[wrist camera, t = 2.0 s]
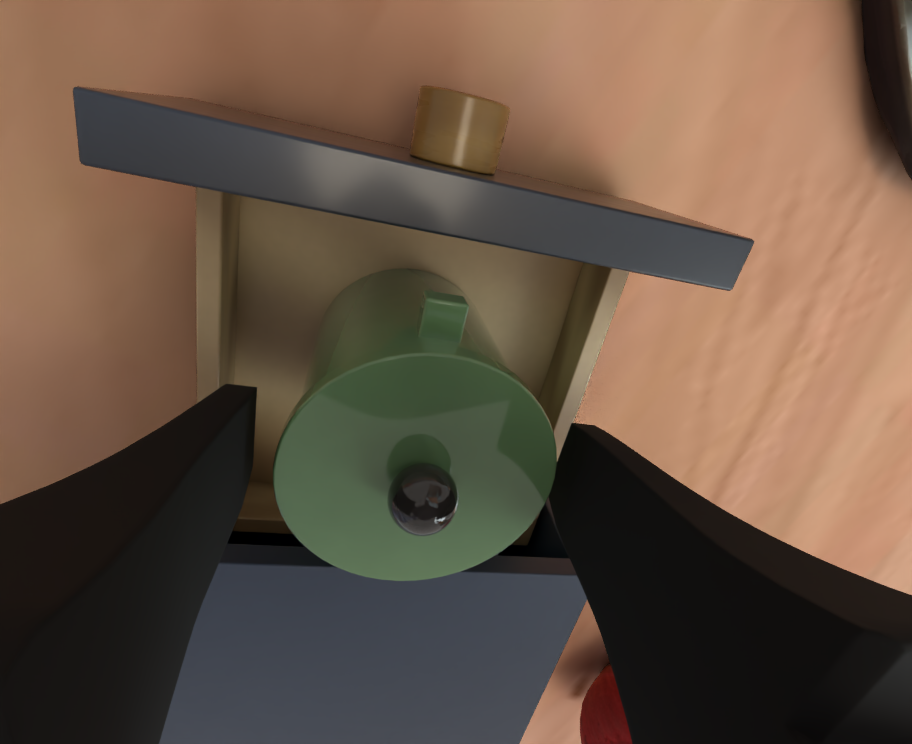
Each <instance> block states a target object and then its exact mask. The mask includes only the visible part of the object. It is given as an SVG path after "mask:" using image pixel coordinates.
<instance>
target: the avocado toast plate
mask: <svg viewBox="0 0 912 744" xmlns="http://www.w3.org/2000/svg"><path fill="white" fill-rule="evenodd" d="M862 18H863V30H864V51H865V59H866V64H867V68H868V72H869V77H870V82H871V87H872V91H873V94H874V98H875V101H876V104H877V107H878V110H879V113H880V115H881V118H882V120H883V122H884V124H885V126H886V128H887V129H888V131H889V133H890V135H891V137H892V140H893V142H894V144H895V147H896V149H897V151H898V154H899V156H900V159H901V161H902V163H903V165H904V168H905V170H906V172H907V173H908V175H909V177H910V178H911V180H912V0H862Z"/></svg>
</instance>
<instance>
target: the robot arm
mask: <svg viewBox="0 0 912 744" xmlns="http://www.w3.org/2000/svg"><path fill="white" fill-rule="evenodd" d="M256 400H257V387H252V386H243V385H234V384H225V385H223V386H222V387H220V388H219V389H217V390H216V391H214V392H213V393H211V394H210V395H208V396H207V397H205V398H204V399H203V400H201V401H200V402H198V403H197V404H195V405H194V406H192V407H191V408H189V409H188V410H187V411H185V412H184V413H182V414H181V415H179V416H178V417H176V418H174V419H173V420H171V421H170V422H168V423H167V424H165V425H164V426H162V427H161V428H159V429H157V430H156V431H154V432H152V433H150V434H149V435H147V436H145V437H144V438H142V439H140V440H138V441H137V442H135V443H133V444H131V445H130V446H128V447H126V448H125V449H123V450H121V451H119V452H118V453H116V454H114V455H112V456H110V457H108V458H106V459H104V460H102V461H100V462H98V463H96V464H94V465H92V466H90V467H88V468H86V469H84V470H81V471H79V472H77V473H75V474H73V475H71V476H69V477H67V478H64V479H62V480H60V481H58V482H55V483H53V484H51V485H48V486H46V487H43V488H41V489H38V490H36V491H33V492H31V493H28V494H25V495H23V496H20V497H18V498H15V499H13V500H10V501H8V502H5V503H3V504H0V744H159V742H160V739H161V735H162V732H163V728H164V725H165V721H166V718H167V714H168V711H169V708H170V704H171V701H172V697H173V694H174V690H175V687H176V683H177V680H178V677H179V673H180V670H181V667H182V663H183V660H184V657H185V654H186V650H187V647H188V644H189V640H190V637H191V634H192V631H193V627H194V624H195V622H196V619H197V616H198V613H199V611H200V608H201V605H202V603H203V600H204V598H205V595H206V593H207V591H208V588H209V586H210V583H211V581H212V579H213V576H214V574H215V571H216V569H217V567H218V564H219V562H220V559H221V557H222V555H223V552H224V550H225V547H226V545H227V543H228V540H229V538H230V535H231V533H232V530H233V528H234V526H235V523H236V521H237V518H238V516H239V513H240V511H241V508H242V505H243V502H244V498H245V494H246V491H247V487H248V483H249V479H250V476H251V472H252V468H253V457H254V438H255V419H256ZM548 497H549V501H550V505H551V509H552V513H553V516H554V520H555V523H556V527H557V529H558V532H559V534H560V537H561V539H562V541H563V544H564V546H565V549H566V551H567V553H568V556H569V558H570V560H571V563H572V565H573V567H574V570H575V572H576V574H577V577H578V579H579V581H580V583H581V586H582V588H583V590H584V593H585V595H586V597H587V600H588V602H589V604H590V607H591V609H592V611H593V614H594V617H595V619H596V622H597V624H598V627H599V630H600V632H601V636H602V639H603V642H604V645H605V648H606V652H607V655H608V658H609V661H610V664H611V667H612V671H613V674H614V677H615V681H616V684H617V688H618V692H619V695H620V699H621V702H622V706H623V709H624V713H625V716H626V720H627V724H628V728H629V732H630V736H631V740H632V744H912V595H909V594H906V593H903V592H901V591H898V590H895V589H892V588H889V587H887V586H884V585H881V584H879V583H876V582H874V581H871V580H869V579H866V578H864V577H861V576H859V575H856V574H854V573H851V572H849V571H846V570H844V569H842V568H839V567H837V566H835V565H832V564H830V563H828V562H825V561H823V560H821V559H819V558H816V557H814V556H812V555H810V554H808V553H806V552H803V551H801V550H799V549H797V548H795V547H793V546H791V545H789V544H787V543H785V542H782V541H780V540H778V539H776V538H774V537H772V536H770V535H768V534H766V533H765V532H763V531H761V530H759V529H757V528H755V527H753V526H752V525H750V524H748V523H746V522H744V521H742V520H741V519H739V518H737V517H735V516H733V515H732V514H730V513H728V512H726V511H725V510H723V509H721V508H720V507H718V506H716V505H715V504H713V503H711V502H710V501H708V500H707V499H705V498H703V497H702V496H700V495H699V494H697V493H696V492H694V491H692V490H691V489H689V488H688V487H686V486H685V485H683V484H682V483H680V482H679V481H677V480H676V479H674V478H673V477H671V476H670V475H668V474H667V473H665V472H664V471H662V470H661V469H660V468H658V467H657V466H655V465H654V464H652V463H651V462H650V461H648V460H647V459H645V458H644V457H642V456H641V455H640V454H638V453H637V452H635V451H634V450H632V449H631V448H630V447H628V446H627V445H625V444H624V443H622V442H621V441H619V440H618V439H616V438H615V437H613V436H612V435H610V434H609V433H607V432H605V431H604V430H602V429H600V428H598V427H596V426H594V425H586V424H577V423H571V426H570V428H569V431H568V434H567V436H566V439H565V442H564V444H563V447H562V450H561V452H560V455H559V458H558V460H557V465H556V472H555V478H554V482H553V485H552V488H551V492H550V494H549V496H548Z"/></svg>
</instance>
